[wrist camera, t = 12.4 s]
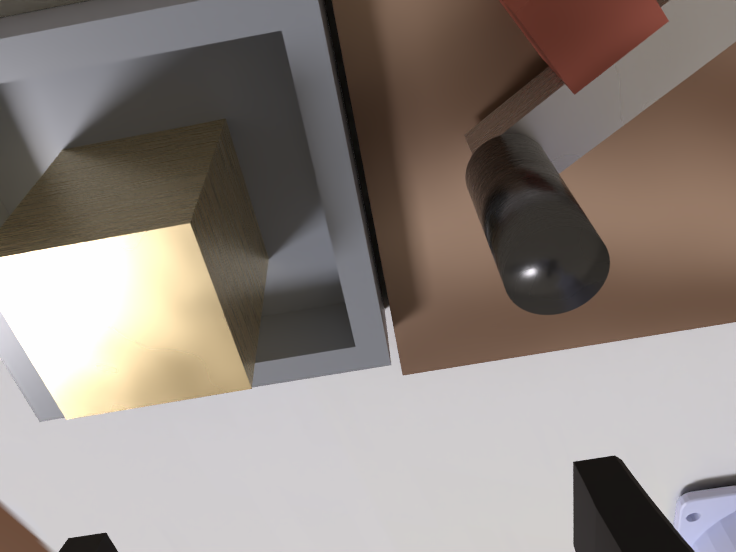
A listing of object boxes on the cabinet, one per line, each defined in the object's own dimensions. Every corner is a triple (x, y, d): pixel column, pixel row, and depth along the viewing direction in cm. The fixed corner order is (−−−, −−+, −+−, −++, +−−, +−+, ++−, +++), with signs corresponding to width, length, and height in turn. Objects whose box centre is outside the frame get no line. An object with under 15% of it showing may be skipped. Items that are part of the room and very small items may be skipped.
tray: (384, 310, 20) (390, 364, 18) (67, 363, 20) (39, 421, 19) (315, -44, 15) (313, -22, 13) (-111, 39, 15) (-177, 72, 13)
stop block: (268, 259, 18) (251, 388, 14) (124, 285, 19) (66, 419, 14) (225, 118, 16) (189, 222, 12) (62, 149, 16) (-28, 262, 12)
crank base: (800, 288, 20) (879, 366, 17) (399, 353, 21) (411, 439, 18) (940, -330, 13) (1126, -375, 10) (296, -198, 13) (287, -201, 10)
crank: (495, 206, 17) (554, 344, 12) (429, 133, 16) (468, 256, 11) (865, -74, 14) (1119, -23, 9) (816, -191, 13) (1078, -194, 8)
